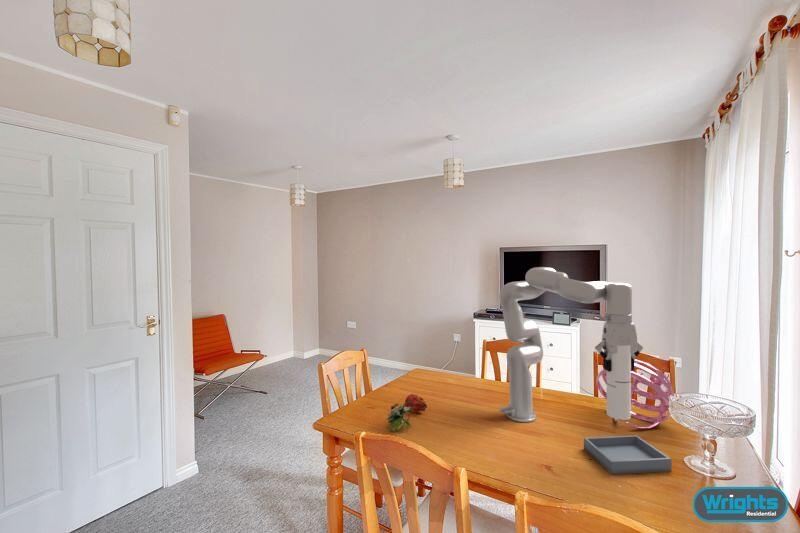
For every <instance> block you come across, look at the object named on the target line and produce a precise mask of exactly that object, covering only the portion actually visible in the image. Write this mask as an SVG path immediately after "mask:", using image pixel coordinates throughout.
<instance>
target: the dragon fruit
mask: <svg viewBox="0 0 800 533" xmlns="http://www.w3.org/2000/svg"><path fill="white" fill-rule="evenodd" d="M403 405H405V406H406V408H409V407H411V408H412V410H411V412H413V413H414V414H416V415H420V414H422V413H421V412H423V411H426V409H427V408H428V407H427V406H428V405H427V403H426V401H424V398H422V397H420V396H419V395H417V394H415V393H411V394H408V396H406V398H405V399H404V403H403Z"/></svg>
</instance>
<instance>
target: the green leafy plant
mask: <svg viewBox="0 0 800 533" xmlns="http://www.w3.org/2000/svg"><path fill="white" fill-rule="evenodd" d="M390 410H391V411H390V413H389V414H388V417H387V418H386V420H387V423H388V424H390V425H389V432H390V433H392V432H395V431H399V430H400V429H401V428H402V427H403V426H404V424H405V425H406V427H407V429H409V427H411V426H412V425H411V424H410V423H409V421H410V416H411V413H412V411H411V410H412V408H411V407H409V408H408V407H406V406H405V405H404V404H402V405H400V404H399V403H395V404H393V405H391V406H390ZM406 413H409V414H408V417H407V419H405V418H404V417H405V415H406Z"/></svg>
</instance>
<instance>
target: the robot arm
mask: <svg viewBox="0 0 800 533" xmlns="http://www.w3.org/2000/svg"><path fill="white" fill-rule="evenodd" d="M524 276H525V280H520V281H511V282H507V283H506V284H504V285H503V286H502V287H501V289H500V291H499V296H498V298H499V304H500V307H501V310H502V315H503V323H504V329H505V333H506V337H507V339H508V340H509V341H510V342H512V343H520V342H521V343H522V342H523V343H522V344H521V343H520V344H517V345H513V346H512V347H510V348H509V349H508V350H507V352H506V362H507V366H508V379H509V380H508V381H509V384H508V385H509V403H507V406H505V407H503V406H500V407H499V408H498V410H499V412H500V413H503V414H506V417H507V418H509V419H510V420H512V421H515V422H519V423H531V422H534V421H535V420H537V414H536V412H534V411H533V382H532V381H533V379H532V378H533V377H532V373H531V372H530V371H531V370H529V369H530V368H529V366H532V365H536V364H539V363H540V362H542V360H543V358H544V350H543V349H544V348H543V342H542V337H541V332H540V328H539V326H538V325H537V323H536V322H535V321H534V320H533V319H530V318H525V317H524V313H523V309H522V307H521V305H520V304H519V303H518V301H526V300H533V299H536V298H538V297H540V296H541V295H543V294H544V293H545V292H551V293H554V294H558V295H559V296H560V297H562V298H564V299H567V300H570V301H574V302H576V303H577V302H578V303H582V304H595V303H602V302H605V305H606V306H605V310H606V311H605V315H603V316H602V319H603V320H604V321H605V322H604V323H603V327H602V328H603V329H602V333H601V341H600V342H599V343H598V344H597V345H596V346H594V350H595V351H596V352H597V353H598V355H600V357H601V358H602V359H603V364H602V365H603V367H602V368H604V369H605V370H607V371H609V372H611V360H610V357H611V355H612V353H617V345H630V352H631V371H633V372H635V367H634V359H637V357H638V356H639V355H640V353H641V352H642V351H643V349H644V347H643V346H642V345H641V344H639V342H638V333H637V330H636V325H635V323H634V322H633V321H632V320H633V315H632V314H633V288H632V285H631V284H629V283H627V282H626V283H625V282H608V281H603V280H597V281H595V280H594V281H581V280H577V279H571V278H569V276H568V274H566V273H565V272H562V271H557V270H555V269H554V268H553V267H548V266H546V267H545V266H539V267H538V266H537V267H532V268H530V269H529V270H527V272H526V274H525V275H524ZM607 352H608V353H607Z"/></svg>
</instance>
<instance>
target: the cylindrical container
mask: <svg viewBox="0 0 800 533" xmlns="http://www.w3.org/2000/svg"><path fill="white" fill-rule="evenodd" d="M607 353H608V352H607ZM610 360H611V372H609V371H607V385H606V393H607V400H606V415H607V416H608V417H610V418H613V419H614V418H615V419H618V420H619V421H620V420H621V421H628V420H630V419H631V418H632V416H631V411H632V405H631V397H632V395H631V383H632V377H631V352H630V345H617V353H612V355H611V357H610Z"/></svg>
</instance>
